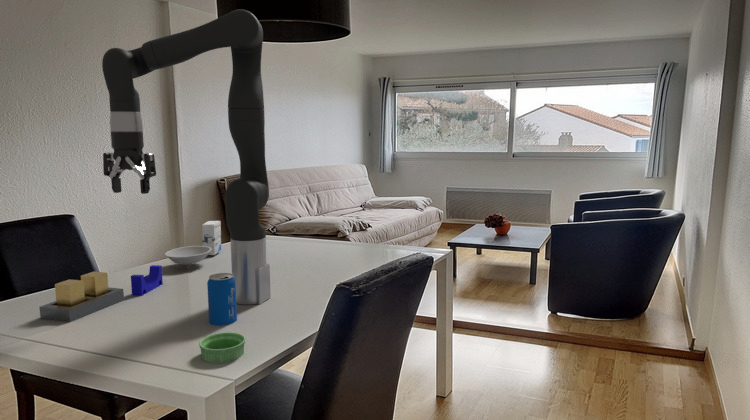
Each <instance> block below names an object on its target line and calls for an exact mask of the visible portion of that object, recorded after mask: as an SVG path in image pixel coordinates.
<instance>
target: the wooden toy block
mask: <svg viewBox="0 0 750 420" xmlns="http://www.w3.org/2000/svg"><path fill="white" fill-rule="evenodd" d="M54 288H55V289H54V290H55V301H56V303H57V306H65V307H73V306H75V305H78V304H80V303H83V302H85V293H84V281H81V279H80V280H79V279H67V280H63V281H60V282H58V283H55V284H54Z"/></svg>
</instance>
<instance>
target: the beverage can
mask: <svg viewBox="0 0 750 420" xmlns="http://www.w3.org/2000/svg"><path fill="white" fill-rule="evenodd" d="M206 284H207V285H206V286H207V303H208V320H209V321H208V323H209V324H210V325H212V326H218V327H219V326H227V325H231V324H234V323H236V322H237V321H238V312H237V311H238V310H237V309H238V307H237V303H236V281H235V278H234V277H233V274H232V273H230V272H218V273H214V274H213V273H212V274H211V275H209V276H208V280H207V282H206Z"/></svg>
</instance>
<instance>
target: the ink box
mask: <svg viewBox="0 0 750 420" xmlns="http://www.w3.org/2000/svg"><path fill="white" fill-rule="evenodd" d="M221 224H222V223H221V220H208V221H206V222H205V223H203V224H201V237H202V238H201V239H202V240H201V242H202V243H201V244H202V245H201V246H208V247H211V248H212V250H211V251H210V252H209V254H208V255H207V256H215V255H216V254H218V253H219V252H221V250H222V230H221V226H222V225H221Z"/></svg>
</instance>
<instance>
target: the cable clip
mask: <svg viewBox="0 0 750 420" xmlns="http://www.w3.org/2000/svg"><path fill="white" fill-rule="evenodd" d="M163 280H164V279H163V266H162V265H161V264H160V265H158V264H157V265H154V264H153V265H150V266H149V273H148V274H147V275H144V274H132V275H130V282H131V283H130V284H131V285H130V286H131V296H134V297H135V296H137V297H138V296H139V297H141V296H144V295H147V294H148V293H149V292H152V291H153V290H155V289H157V288H159V287H160V285H161V286H162V285H163V283H164V282H163Z"/></svg>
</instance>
